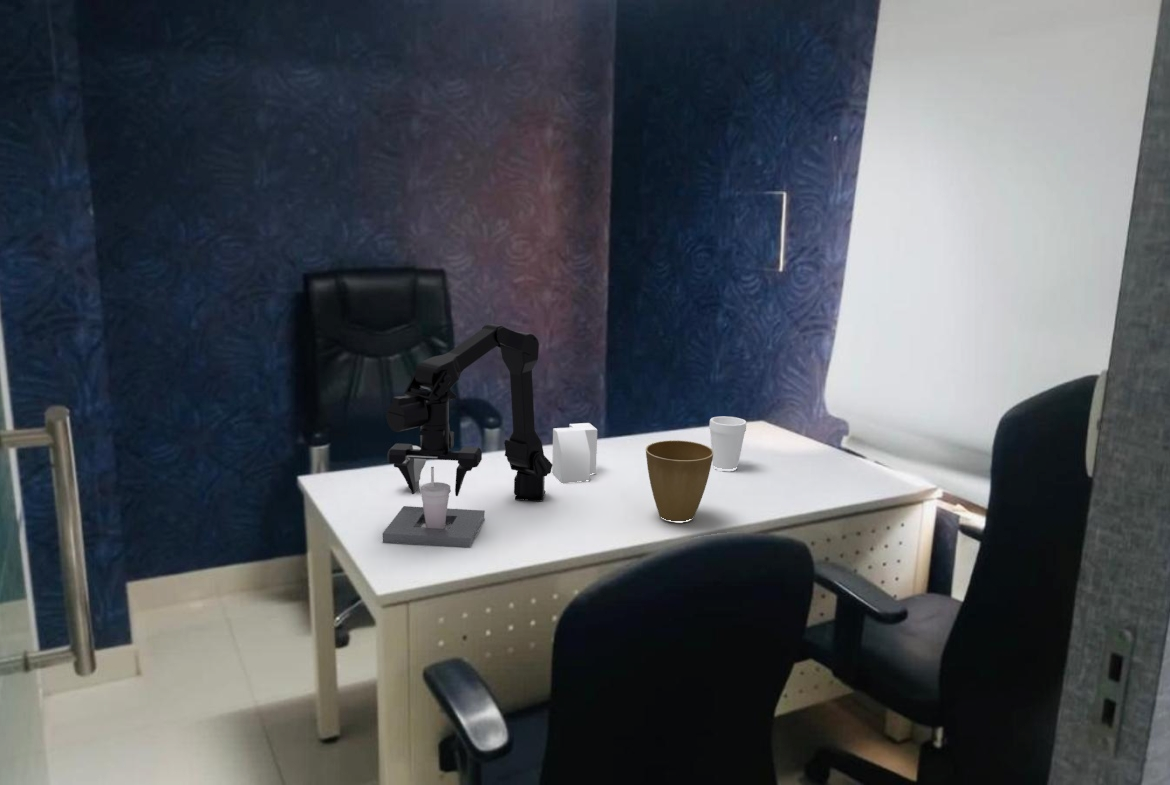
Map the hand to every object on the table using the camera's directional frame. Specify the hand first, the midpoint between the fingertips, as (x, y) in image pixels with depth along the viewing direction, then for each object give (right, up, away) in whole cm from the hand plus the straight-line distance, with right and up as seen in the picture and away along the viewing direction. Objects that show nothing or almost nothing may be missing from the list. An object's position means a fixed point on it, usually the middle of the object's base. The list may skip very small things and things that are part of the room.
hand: (435, 494), depth 188 cm
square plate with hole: (0, -8, +2) cm, 8 cm away
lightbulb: (-9, -2, +26) cm, 28 cm away
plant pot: (+52, -7, +13) cm, 54 cm away
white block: (+29, 0, +41) cm, 50 cm away
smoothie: (0, -8, +2) cm, 8 cm away
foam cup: (+68, +1, +50) cm, 85 cm away
